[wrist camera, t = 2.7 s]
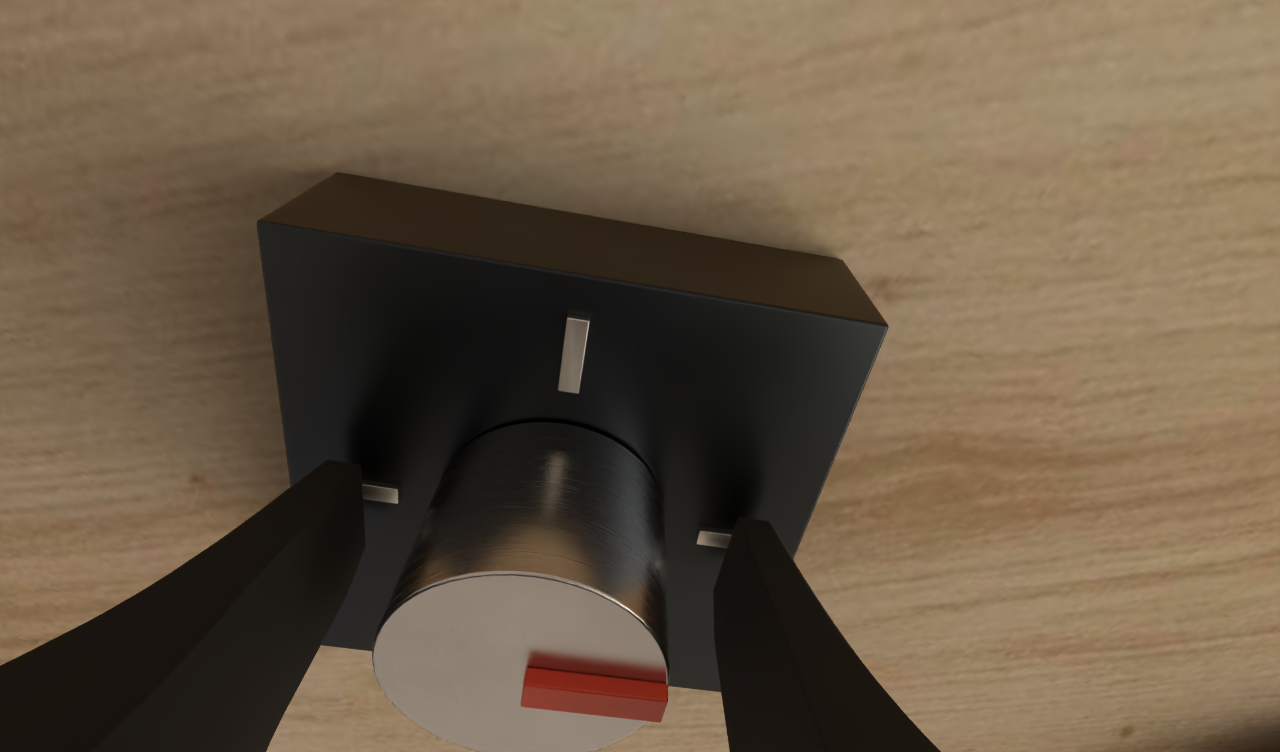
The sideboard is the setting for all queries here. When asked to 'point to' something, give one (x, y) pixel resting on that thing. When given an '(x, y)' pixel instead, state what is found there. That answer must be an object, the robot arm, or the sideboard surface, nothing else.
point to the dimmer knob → (533, 597)
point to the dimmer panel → (558, 368)
